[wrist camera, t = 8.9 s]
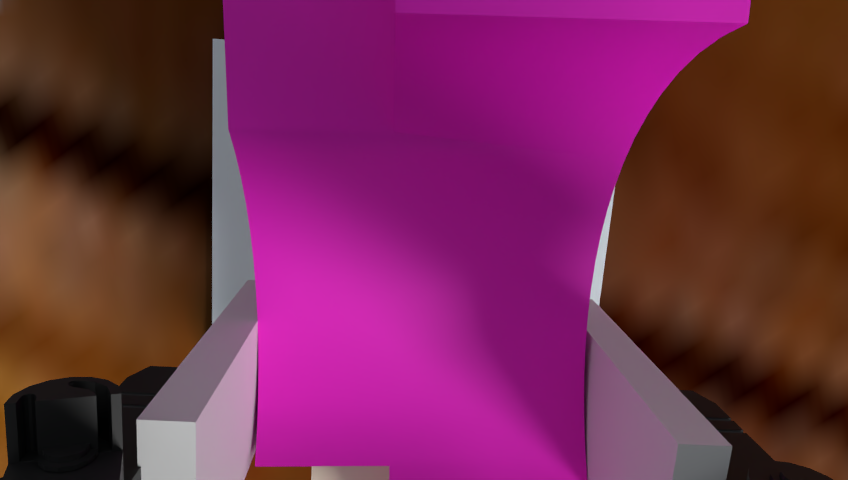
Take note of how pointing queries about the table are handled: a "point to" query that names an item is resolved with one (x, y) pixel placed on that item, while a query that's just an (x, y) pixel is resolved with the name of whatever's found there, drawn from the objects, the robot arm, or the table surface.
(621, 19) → the toy block
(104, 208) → the table surface
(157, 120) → the table surface
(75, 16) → the table surface
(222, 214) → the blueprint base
